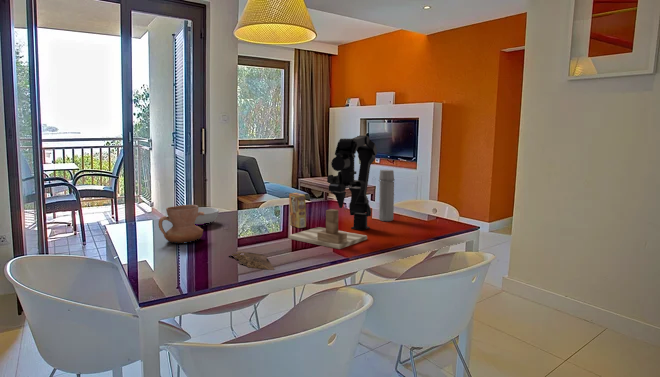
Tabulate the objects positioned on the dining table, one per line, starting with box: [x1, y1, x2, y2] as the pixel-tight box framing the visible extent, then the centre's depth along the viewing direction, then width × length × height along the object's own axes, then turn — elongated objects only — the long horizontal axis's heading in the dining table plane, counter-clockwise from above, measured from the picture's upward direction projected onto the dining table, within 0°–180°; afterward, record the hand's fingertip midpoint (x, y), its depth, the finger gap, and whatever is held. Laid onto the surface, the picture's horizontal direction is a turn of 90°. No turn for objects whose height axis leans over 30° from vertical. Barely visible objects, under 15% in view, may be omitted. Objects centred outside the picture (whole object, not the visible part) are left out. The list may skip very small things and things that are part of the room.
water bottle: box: [378, 169, 395, 222], centre depth 210 cm, size 9×8×25 cm
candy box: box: [288, 192, 307, 229], centre depth 199 cm, size 9×4×15 cm, turn 33°
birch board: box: [288, 226, 368, 250], centre depth 176 cm, size 19×26×2 cm
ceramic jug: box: [157, 204, 204, 244], centre depth 172 cm, size 18×14×14 cm
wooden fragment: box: [231, 250, 276, 271], centre depth 147 cm, size 26×11×1 cm, turn 35°
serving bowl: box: [194, 206, 220, 224], centre depth 203 cm, size 21×21×7 cm
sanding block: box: [317, 208, 347, 244], centre depth 168 cm, size 6×10×12 cm, turn 52°
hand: (347, 206), depth 178 cm, fingers open, 9 cm apart
